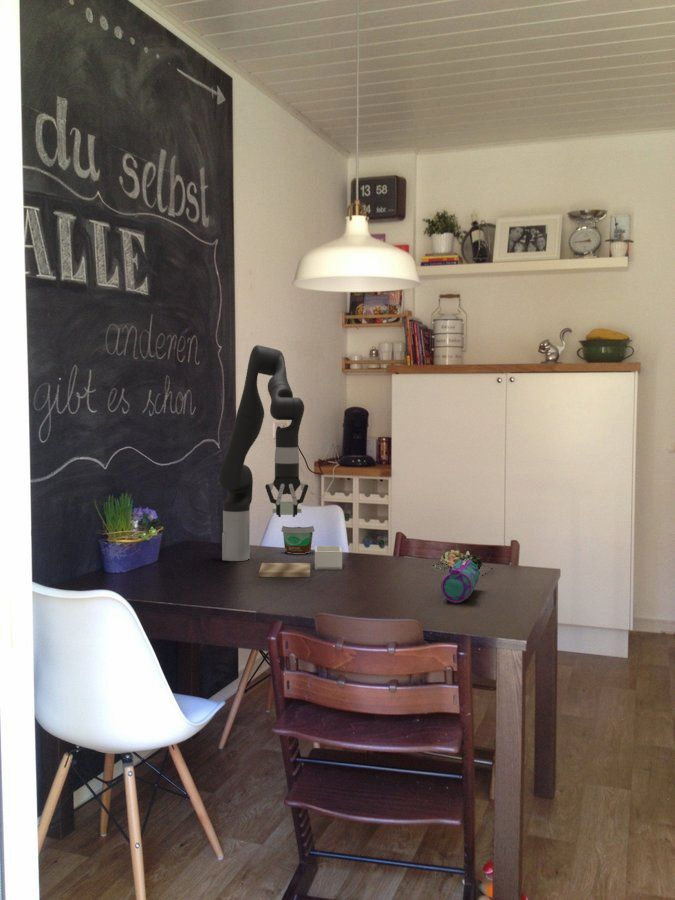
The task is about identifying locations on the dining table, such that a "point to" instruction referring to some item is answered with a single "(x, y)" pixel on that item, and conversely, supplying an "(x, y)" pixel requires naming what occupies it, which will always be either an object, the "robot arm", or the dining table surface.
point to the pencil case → (460, 581)
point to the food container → (297, 539)
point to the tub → (328, 558)
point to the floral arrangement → (458, 558)
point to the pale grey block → (287, 508)
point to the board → (284, 570)
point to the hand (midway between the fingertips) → (286, 516)
